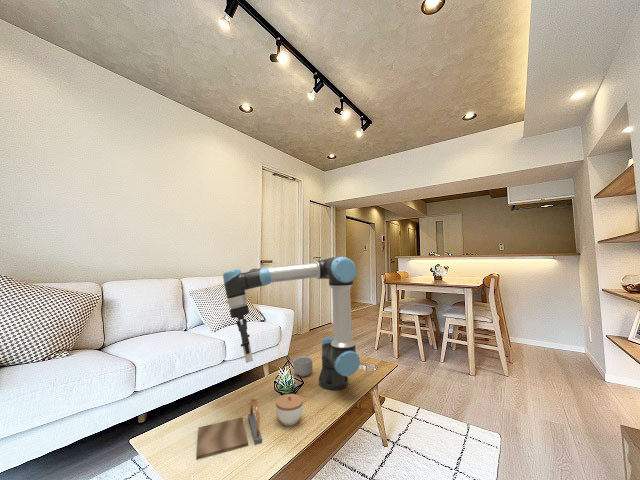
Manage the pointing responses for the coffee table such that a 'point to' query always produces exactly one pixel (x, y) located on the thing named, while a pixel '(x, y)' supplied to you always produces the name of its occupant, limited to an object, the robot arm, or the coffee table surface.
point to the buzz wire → (256, 413)
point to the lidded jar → (289, 408)
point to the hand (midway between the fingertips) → (249, 357)
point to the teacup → (302, 366)
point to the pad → (221, 437)
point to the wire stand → (254, 428)
